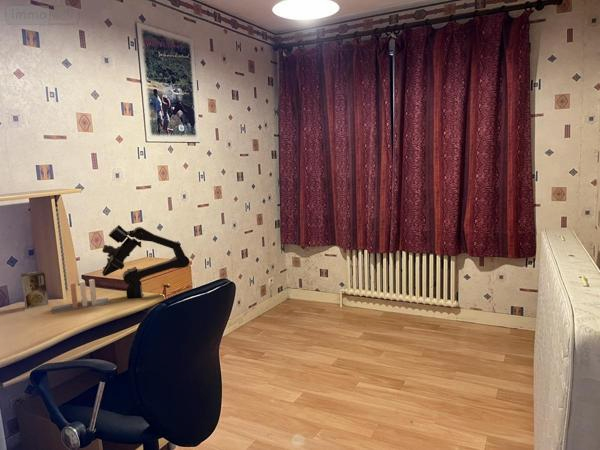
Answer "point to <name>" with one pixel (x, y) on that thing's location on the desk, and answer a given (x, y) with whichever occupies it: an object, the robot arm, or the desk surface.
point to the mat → (79, 305)
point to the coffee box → (34, 289)
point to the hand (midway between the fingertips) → (103, 274)
